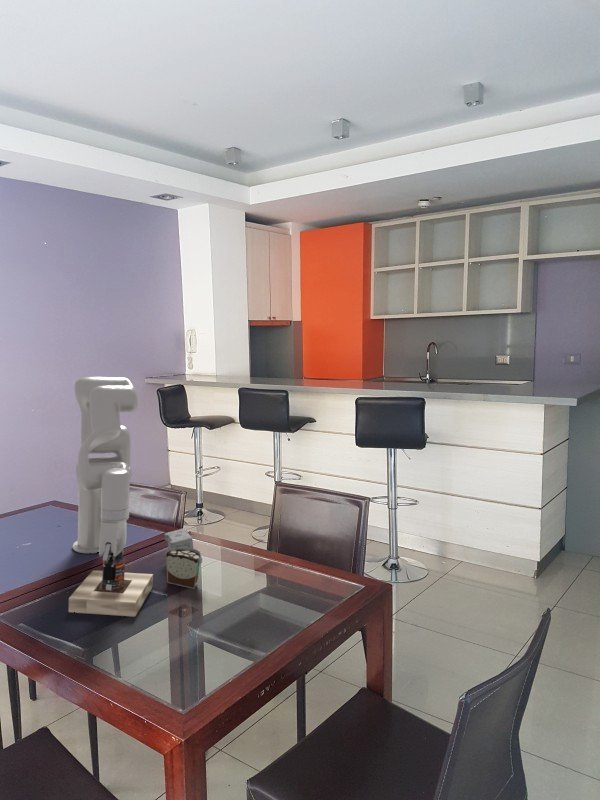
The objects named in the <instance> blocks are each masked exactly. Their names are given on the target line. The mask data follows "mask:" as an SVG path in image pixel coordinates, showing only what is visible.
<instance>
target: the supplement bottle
mask: <svg viewBox="0 0 600 800" xmlns="http://www.w3.org/2000/svg"><path fill="white" fill-rule="evenodd" d="M110 555H113V553H110ZM109 560H111V561H112V558H111V557H109ZM125 560H126V559H125V558H124V556H122V551H121V552H120V553H119V554H118V555H117V556H116V559H115V566H116V579H115V580H104V579H103V577H104V566H103V565H104V563H103V562H102V571H103V575H102V590H103V592H112V593H121V592H120V591H122V590H123V588H124V573H126V571H125V570H126V569H125V567H126V565H125V564H126V561H125Z"/></svg>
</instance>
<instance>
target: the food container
mask: <svg viewBox="0 0 600 800" xmlns="http://www.w3.org/2000/svg"><path fill="white" fill-rule="evenodd" d="M163 558H165V565H166V581H167V584H170V585H176V586H180V587H184V588H189V589H192V590H195V589H197V586H198V581H199V580H198V578H199V573H200V565H201V564H202V563H203V557H202V553H201V552H200V551H199V550H198V549H195V548H194V547H193V548H187V547H178V548H172V549H167V550H165V552H164V555H163Z"/></svg>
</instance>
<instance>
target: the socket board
mask: <svg viewBox="0 0 600 800" xmlns="http://www.w3.org/2000/svg"><path fill="white" fill-rule="evenodd" d="M102 575H103V570H94V569H93V570H92V571H91V572H90V573H88V576H87V577H86V578H85V579H84V580H83V581H82V582H81V584H79V586H78V587H77V588H76V589H75V590H74V591H73V593H71V595H70V596H69V597H68V613H74V612H75V614H76V613H77V614H91V615H104V616H105V615H106V616H107V615H109V616H121V617H124V616H125V617H136V616H137V614H138V612H139V611H140V609H141V608H142V607H143V605H144V602H145V601H146V599H147V597H148V595H150V592H151V590H152V589H153V586H154V585H153V584H154V574H153V573H138V572H136V573H135V572H125V573H124V588H123V590H122V591H120V592H117V593H112V592H104V591H103V590H102Z"/></svg>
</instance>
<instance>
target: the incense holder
mask: <svg viewBox="0 0 600 800" xmlns="http://www.w3.org/2000/svg"><path fill="white" fill-rule="evenodd" d="M163 536H164V537H163V539H164V541H166V542H167V548H168V549H167V550H169V549H172V548H178V547H187V548H193V549H194V544H193V542H194V541H193V537H192V536H191V534H189V532H188V531H187V530H186V528H180V529H176V530H172V531H169V532H165V533H164V535H163Z"/></svg>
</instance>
